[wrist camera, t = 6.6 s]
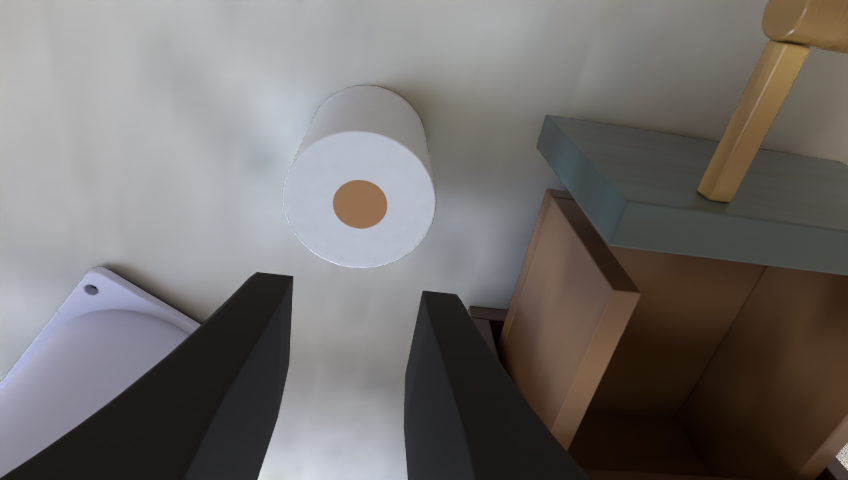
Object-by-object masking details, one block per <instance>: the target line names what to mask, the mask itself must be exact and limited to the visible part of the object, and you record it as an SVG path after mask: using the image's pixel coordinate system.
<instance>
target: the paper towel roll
mask: <svg viewBox="0 0 848 480" xmlns="http://www.w3.org/2000/svg"><path fill="white" fill-rule="evenodd" d="M283 207H284V211H285V215H286V218H287V220H288V223H289V225H290V227H291V228H292V230H293V232H294V233H295V235H296V236H297V237H298V239H299V240H300V241H301V242H302V243H303V244H304V245H305V246H306V247H307V248H308V249H309V250H311V251H312V252H313V253H315V254H316V255H318V256H319V257H321V258H323V259H325V260H327V261H329V262H332V263H335V264H338V265H342V266H346V267H353V268H371V267H378V266H383V265H386V264H389V263H392V262H394V261H397V260H399V259H401V258H402V257H404V256H406V255H407V254H409V253H410V252H411V251H412V250H414V249H415V248H416V247H417V246H418V245H419V244H420V243H421V241H422V240H423V239H424V237H425V236H426V235H427V233H428V231H429V229H430V227H431V225H432V222H433V219H434V215H435V211H436V192H435V186H434V181H433V175H432V170H431V164H430V158H429V153H428V147H427V142H426V136H425V131H424V127H423V125H422V122H421V120H420V118H419V116H418V114H417V113H416V111H415V110H414V108H413V107H412V106H411V105H410V104H409V103H408V102H407V101H406V100H404V99H403V98H402V97H400V96H399V95H397V94H396V93H394V92H392V91H390V90H387V89H384V88H381V87H376V86H367V85H363V86H354V87H350V88H346V89H344V90H341V91H339V92H337V93H335V94H334V95H332V96H331V97H330V98H328V99H327V100H326V101H325V102H324V103H323V104H322V105H321V106H320V108H319V109H318V110H317V112H316V114H315V116H314V118H313V120H312V122H311V124H310V126H309V128H308V130H307V132H306V134H305V136H304V138H303V141H302V143H301V145H300V147H299V149H298V151H297V153H296V155H295V157H294V159H293V161H292V163H291V166H290V168H289V170H288V172H287V175H286V178H285V181H284V186H283Z"/></svg>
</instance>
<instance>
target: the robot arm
mask: <svg viewBox="0 0 848 480" xmlns="http://www.w3.org/2000/svg"><path fill="white" fill-rule="evenodd" d="M90 285H94V286H95V287H97V288H98V289H94V288H92V287H91V286H90ZM292 292H293V276H286V275H277V274H268V273H259V272H257V273H255V274H254V275H252V276H251V277H250V278H249V279H248V280H247V281H246V282H245V283H244V284H243V285H242V286H241V287H240V288H239V289H238V290H237V291H236V292H235V293H234V294H233V295H232V296H231V297H230V298H229V299H228V300H227V301H226V302H225V303H224V304H223V305H222V306H221V307H220V308H219V309H218V310H216V311H215V312H214V313H213V314H212V315H211V316H210V317H209V318H208V319H207V320H206V321H205V322H204V323H203V324H202V325H201V324H199V323H197V322H196V321H194V320H192V319H191V318H189V317H187V316H186V315H184V314H182V313H181V312H179V311H177V310H175V309H174V308H172V307H170V306H169V305H167V304H165V303H164V302H162V301H160V300H159V299H157V298H155V297H154V296H152V295H150V294H148V293H147V292H145V291H143V290H142V289H140V288H138V287H137V286H135V285H133V284H132V283H130V282H128V281H127V280H125V279H123V278H122V277H120V276H118V275H116V274H115V273H113V272H111V271H110V270H108V269H106V268H103V267H95V268H92V269H91V270H90V271H89V272H88V273H87V274H86V275H85V276H84V278H83V279H82V280H81V281H80V283H79V284H78V285H77V286H76V288H75V289H74V290H73V291H72V293H71V294H70V295H69V297H68V298H67V299H66V300H65V302H64V303H63V304H62V305H61V307H60V308H59V309H58V310H57V312H56V313H55V314H54V316H53V317H52V318H51V319H50V321H49V322H48V323H47V324H46V326H45V327H44V328H43V330H42V331H41V332H40V333H39V335H38V336H37V337H36V338H35V340H34V341H33V342H32V343H31V345H30V346H29V347H28V349H27V350H26V351H25V352H24V354H23V355H22V356H21V357H20V359H19V360H18V361H17V362H16V364H15V365H14V366H13V368H12V369H11V370H10V371H9V373H8V374H7V375H6V376H5V378H4V379H3V380H2V382H1V383H0V480H257V479H258V476H259V473H260V470H261V467H262V464H263V461H264V458H265V455H266V452H267V449H268V446H269V443H270V440H271V437H272V433H273V430H274V427H275V424H276V421H277V418H278V414H279V409H280V404H281V400H282V395H283V391H284V386H285V381H286V376H287V372H288V367H289V355H290V334H291V313H292ZM404 435H405V448H406V461H407V473H408V480H592V479H591V478H590V477H589V476H588V475H587V474H586V473H585V472H584V471H583V469H582V468H581V467H580V466H579V465H578V464H577V463H576V462H575V461H574V459H573V458H572V457H571V456H570V455H569V454H568V452H567V451H566V450H565V449H564V448H563V446H562V445H561V444H560V443H559V442H558V440H557V439H556V438H555V437H554V435H553V434H552V433H551V432H550V430H549V429H548V428H547V427H546V425H545V424H544V423H543V421H542V420H541V419H540V418H539V416H538V415H537V414H536V412H535V411H534V410H533V409H532V407H531V406H530V404H529V403H528V402H527V400H526V399H525V398H524V396H523V395H522V394H521V392H520V391H519V389H518V388H517V387H516V385H515V384H514V382H513V381H512V379H511V378H510V376H509V375H508V374H507V372H506V371H505V369H504V368H503V366H502V365H501V363H500V362H499V361H498V359H497V357H496V356H495V354H494V353H493V351H492V350H491V348H490V347H489V345H488V344H487V342H486V340H485V339H484V337H483V336H482V334H481V333H480V331H479V329H478V328H477V326H476V324H475V323H474V321H473V319H472V318H471V316H470V315H469V313H468V311H467V309H466V308H465V306H464V304H463V303H462V301H461V300H460V298H459V297H458V296H457V294H448V293H439V292H430V291H423V292H422V297H421V302H420V307H419V312H418V316H417V321H416V326H415V331H414V336H413V340H412V345H411V350H410V355H409V360H408V364H407V369H406V374H405V402H404Z"/></svg>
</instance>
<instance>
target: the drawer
mask: <svg viewBox="0 0 848 480" xmlns="http://www.w3.org/2000/svg"><path fill="white" fill-rule="evenodd" d="M762 29H763V32H764V34H765V35H766V36H767V37H768V38H769V39H771V40H769V41H768V43H767V45H766V47H765V49H764V51H763V53H762V55H761V57H760V59H759V61H758V64H757V66H756V68H755V70H754V72H753V74H752V76H751V78H750V80H749V82H748V84H747V86H746V89H745V91H744V93H743V95H742V97H741V99H740V101H739V103H738V105H737V107H736V109H735V112H734V114H733V116H732V118H731V120H730V122H729V124H728V126H727V128H726V130H725V132H724V135H723V137H722V139H721V141H720V142H715V141H708V140H702V139H696V138H689V137H683V136H677V135H671V134H664V133H658V132H652V131H645V130H639V129H633V128H627V127H620V126H614V125H608V124H601V123H595V122H589V121H583V120H576V119H570V118H564V117H558V116H551V115H546V116H545V119H544V123H543V126H542V130H541V133H540V137H539V140H538V143H537V149H538V150H539V151H540V153H541V154H542V156H543V157H544V158H545V160H546V161H547V162H548V164H549V165H550V166H551V168H552V169H553V170H554V172H555V173H556V175H557V176H558V177H559V179H560V180H561V181H562V183H563V184H564V185H565V187H566V188H567V189H568V191H562V190H554V189H547V190H546V193H545V196H544V199H543V202H542V205H541V209H540V212H539V215H538V218H537V221H536V224H535V227H534V231H533V234H532V237H531V240H530V243H529V246H528V250H527V253H526V256H525V259H524V262H523V265H522V269H521V272H520V275H519V278H518V281H517V284H516V287H515V291H514V294H513V297H512V300H511V303H510V306H509V310H508V313H507V316H506V319H505V322H504V325H503V328H502V332H501V335H500V338H499V341H498V344H497V347H496V350H497V354H498V358H499V361H500V363H501V365H502V366H503V368H504V369H505V371H506V372H507V374H508V375H509V376H510V378H511V379H512V381H513V382H514V384H515V385H516V387H517V388H518V389H519V391H520V392H521V394H522V395H523V396H524V398H525V399H526V400H527V402H528V403H529V404H530V406H531V407H532V409H533V410H534V411H535V412H536V414H537V415H538V416H539V418H540V419H541V420H542V421H543V423H544V424H545V425H546V427H547V428H548V429H549V430H550V432H551V433H552V434H553V435H554V437H555V438H556V439H557V440H558V442H559V443H560V444H561V445H562V446H563V448H564V449H565V450H566V451H567V452H568V454H569V455H570V456H571V457H572V458H573V459H574V461H575V462H576V463H577V464H578V465H579V466H580V467H581V468H582V469H596V470H612V471H628V472H644V473H660V474H676V475H693V476H709V477H725V478H741V479H757V480H815V479H816V478H817V477H818V476H819V474H820V473H821V472H822V471H823V470H824V469H825V468H826V466H827V465H828V464H829V463H830V462H831V461H832V460H833V459H834V457H835V456H836V455H837V454H838V453H839V452H840V451H841V449H842V448H843V447H844V446H845V445H846V444H847V443H848V165H846V164H844V163H842V162H840V161H834V160H828V159H821V158H815V157H809V156H802V155H796V154H790V153H784V152H777V151H771V150H765V149H759V147H760V145H761V143H762V141H763V139H764V138H765V136H766V134H767V132H768V130H769V128H770V126H771V124H772V122H773V120H774V118H775V116H776V115H777V113H778V111H779V109H780V107H781V105H782V103H783V101H784V99H785V97H786V95H787V93H788V92H789V90H790V88H791V86H792V84H793V82H794V80H795V78H796V76H797V74H798V72H799V70H800V69H801V67H802V65H803V63H804V61H805V59H806V57H807V55H808V53H809V51H810V49H809V48H808V47H812V48H817V49H822V50H828V51H833V52H838V53H843V54H848V0H769V2H768V4H767V6H766V8H765V11H764V14H763V18H762ZM801 45H802V46H801ZM806 46H807V47H806Z"/></svg>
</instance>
